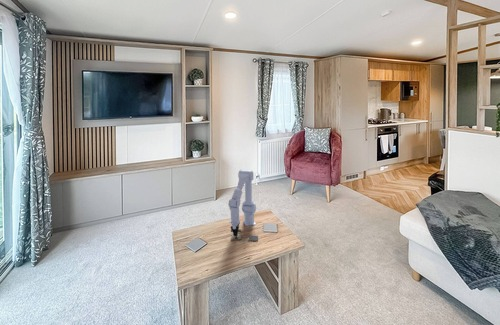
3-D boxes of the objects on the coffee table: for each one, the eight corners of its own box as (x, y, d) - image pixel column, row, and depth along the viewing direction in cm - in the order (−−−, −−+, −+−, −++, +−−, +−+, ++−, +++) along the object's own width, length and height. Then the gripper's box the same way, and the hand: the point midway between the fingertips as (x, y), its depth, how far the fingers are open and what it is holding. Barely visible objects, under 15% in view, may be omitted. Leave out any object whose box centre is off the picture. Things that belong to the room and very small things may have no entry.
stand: (231, 236, 186) (231, 228, 184) (241, 236, 185) (241, 228, 184) (230, 240, 181) (230, 231, 179) (240, 240, 180) (240, 231, 179)
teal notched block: (234, 232, 185) (233, 225, 184) (238, 232, 185) (238, 225, 183) (233, 236, 180) (233, 229, 179) (237, 236, 180) (237, 229, 178)
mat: (249, 236, 185) (249, 235, 185) (258, 236, 185) (258, 235, 185) (248, 241, 179) (248, 240, 179) (257, 241, 179) (257, 240, 178)
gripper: (230, 211, 186) (231, 228, 189) (227, 220, 172) (228, 239, 175) (240, 211, 186) (241, 228, 189) (238, 220, 172) (239, 239, 175)
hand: (235, 233), depth 182 cm, fingers closed on teal notched block, 5 cm apart
